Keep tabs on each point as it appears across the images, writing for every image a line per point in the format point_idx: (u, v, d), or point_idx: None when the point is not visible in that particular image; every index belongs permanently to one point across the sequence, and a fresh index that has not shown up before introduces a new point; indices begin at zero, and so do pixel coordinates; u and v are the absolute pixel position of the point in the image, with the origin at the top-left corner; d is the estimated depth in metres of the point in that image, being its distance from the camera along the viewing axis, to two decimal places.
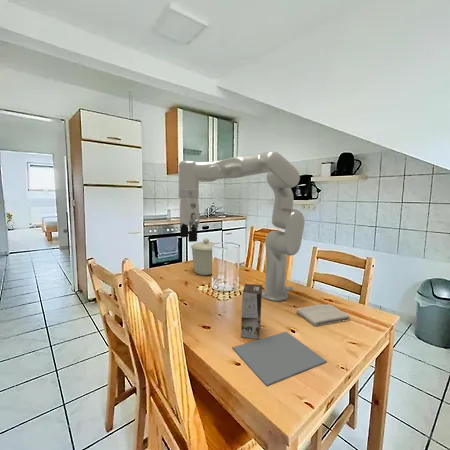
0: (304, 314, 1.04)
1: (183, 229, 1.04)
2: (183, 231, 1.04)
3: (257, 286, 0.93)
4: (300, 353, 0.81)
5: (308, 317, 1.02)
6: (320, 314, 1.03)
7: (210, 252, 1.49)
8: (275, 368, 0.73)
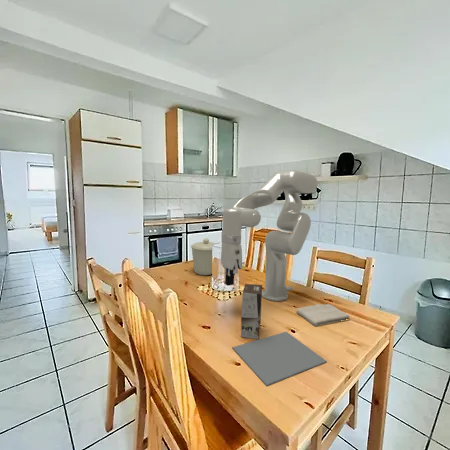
0: (304, 314, 1.04)
1: None
2: None
3: (257, 286, 0.93)
4: (300, 353, 0.81)
5: (308, 317, 1.02)
6: (320, 314, 1.03)
7: (210, 252, 1.49)
8: (275, 368, 0.73)
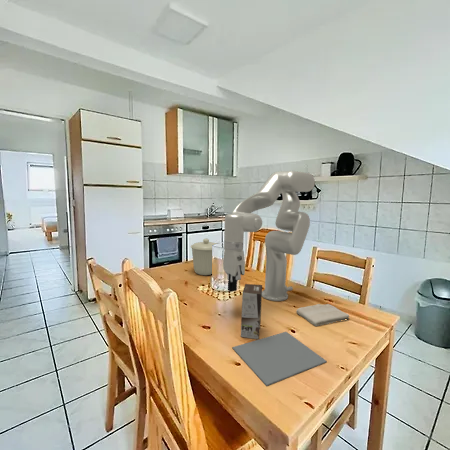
0: (304, 314, 1.04)
1: None
2: None
3: (257, 286, 0.93)
4: (300, 353, 0.81)
5: (308, 317, 1.02)
6: (320, 314, 1.03)
7: (210, 252, 1.49)
8: (275, 368, 0.73)
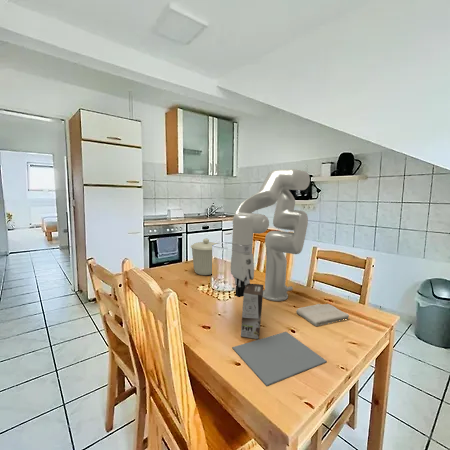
0: (304, 314, 1.04)
1: None
2: None
3: (258, 286, 0.92)
4: (300, 353, 0.81)
5: (308, 317, 1.02)
6: (320, 314, 1.03)
7: (210, 252, 1.49)
8: (275, 368, 0.73)
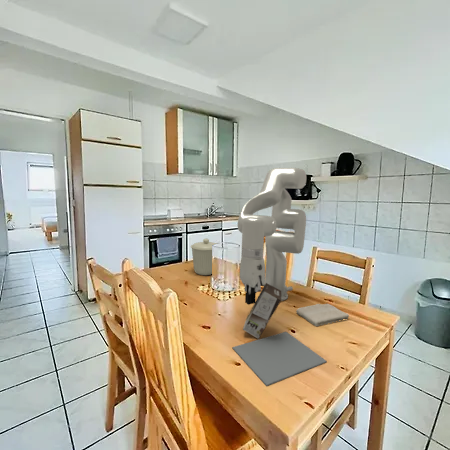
0: (304, 314, 1.04)
1: None
2: None
3: (277, 290, 0.92)
4: (300, 353, 0.81)
5: (308, 317, 1.02)
6: (320, 314, 1.03)
7: (210, 252, 1.49)
8: (275, 368, 0.73)
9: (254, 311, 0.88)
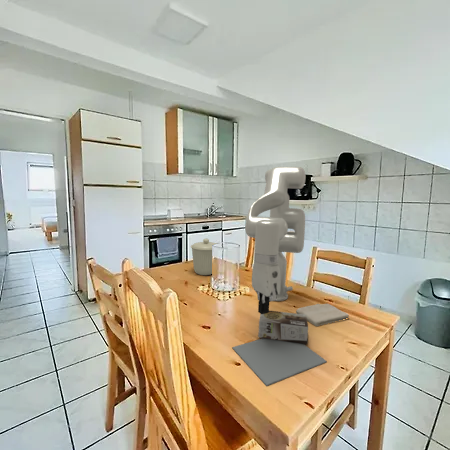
0: (304, 314, 1.04)
1: None
2: None
3: None
4: (300, 353, 0.81)
5: (309, 317, 1.02)
6: (320, 314, 1.03)
7: (210, 252, 1.49)
8: (275, 368, 0.73)
9: (283, 325, 0.86)
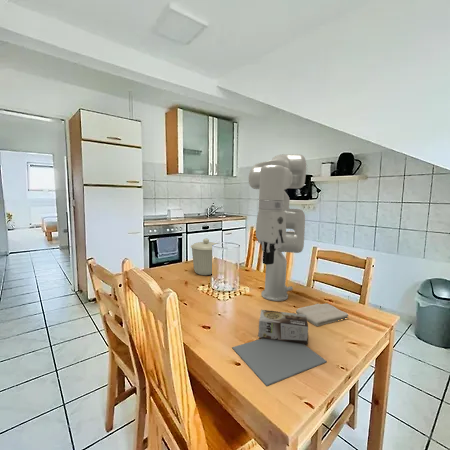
0: (304, 314, 1.04)
1: None
2: None
3: None
4: (300, 353, 0.81)
5: (309, 317, 1.02)
6: (320, 314, 1.03)
7: (210, 252, 1.49)
8: (275, 368, 0.73)
9: (283, 324, 0.86)
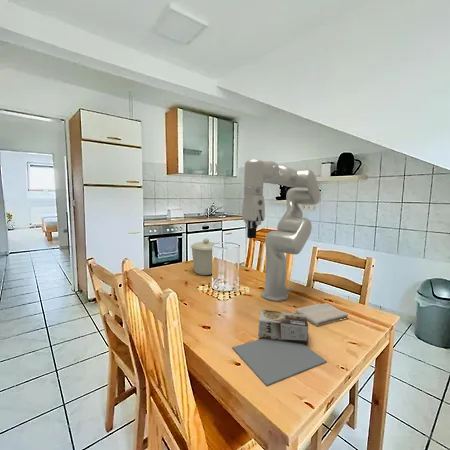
0: (304, 314, 1.04)
1: None
2: None
3: None
4: (300, 353, 0.81)
5: (309, 317, 1.02)
6: (320, 314, 1.03)
7: (210, 252, 1.49)
8: (275, 368, 0.73)
9: (283, 324, 0.86)
